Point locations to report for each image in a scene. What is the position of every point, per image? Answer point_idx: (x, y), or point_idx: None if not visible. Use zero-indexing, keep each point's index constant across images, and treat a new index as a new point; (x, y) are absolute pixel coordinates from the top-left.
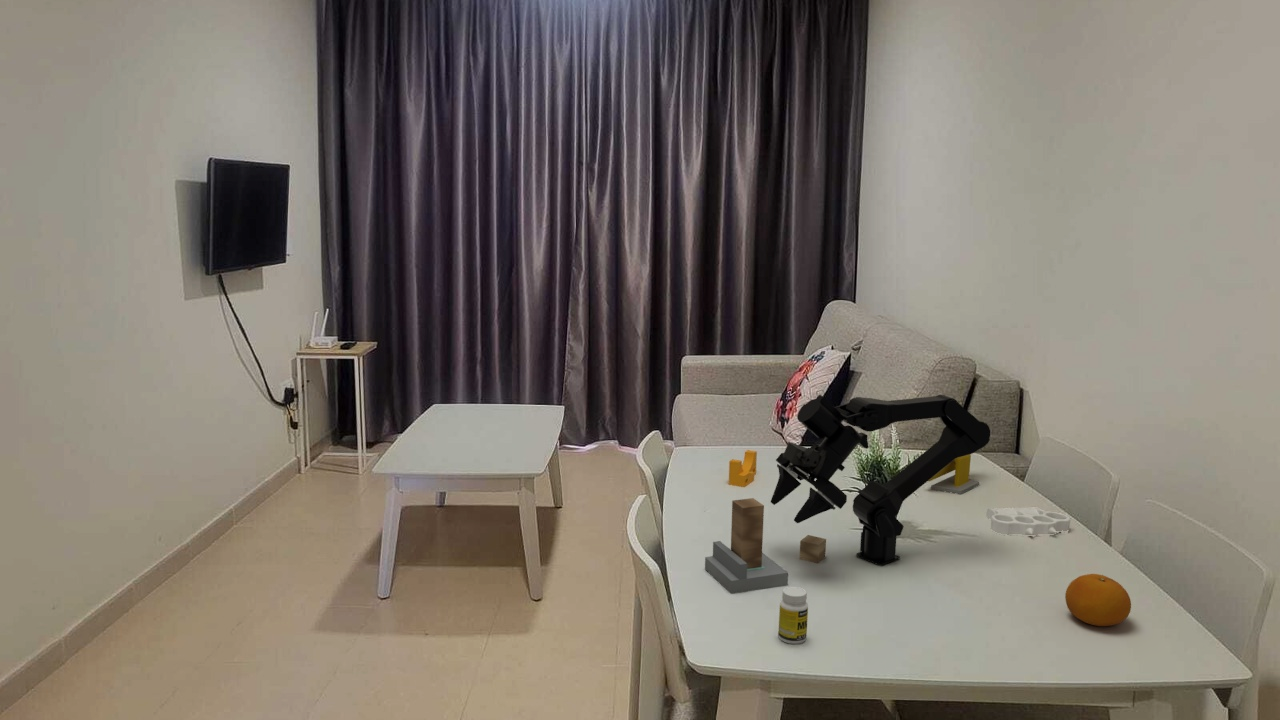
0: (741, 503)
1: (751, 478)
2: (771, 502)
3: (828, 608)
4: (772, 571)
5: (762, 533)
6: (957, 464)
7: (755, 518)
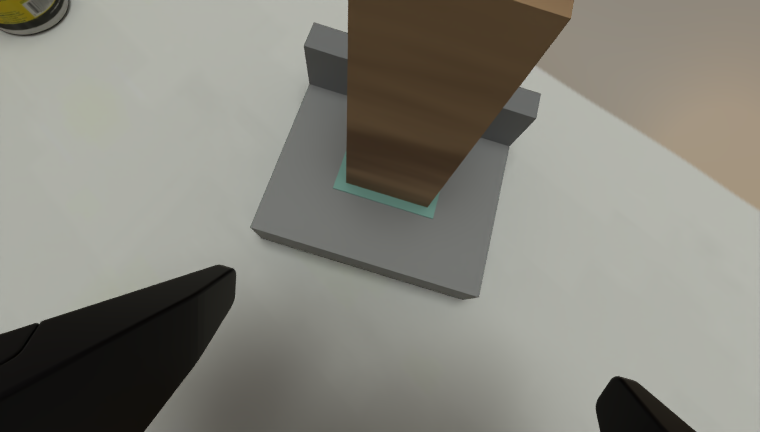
0: None
1: None
2: (615, 376)
3: (48, 212)
4: (295, 188)
5: (348, 109)
6: None
7: None
